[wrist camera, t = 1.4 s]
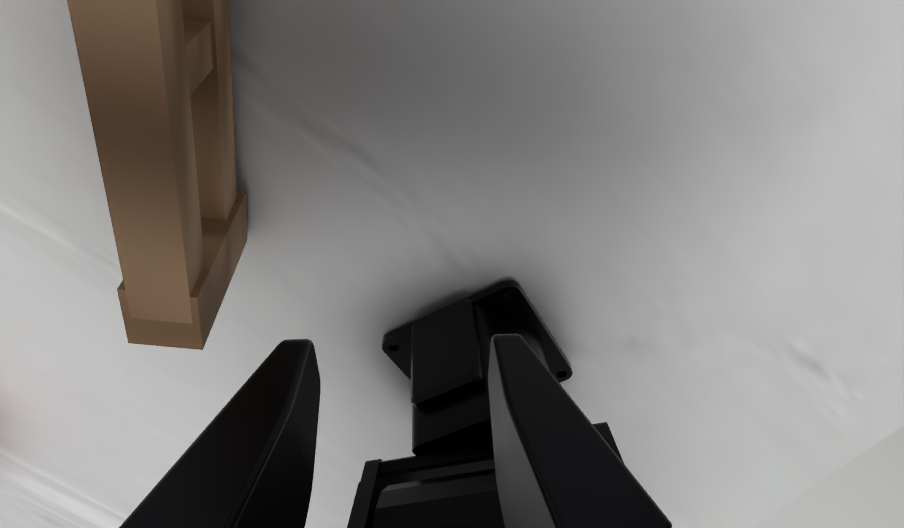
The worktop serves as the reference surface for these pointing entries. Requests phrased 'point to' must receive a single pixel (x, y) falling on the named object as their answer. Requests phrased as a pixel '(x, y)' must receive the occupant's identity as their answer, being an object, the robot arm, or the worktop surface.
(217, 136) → the gate
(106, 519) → the worktop surface
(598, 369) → the worktop surface
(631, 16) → the worktop surface
